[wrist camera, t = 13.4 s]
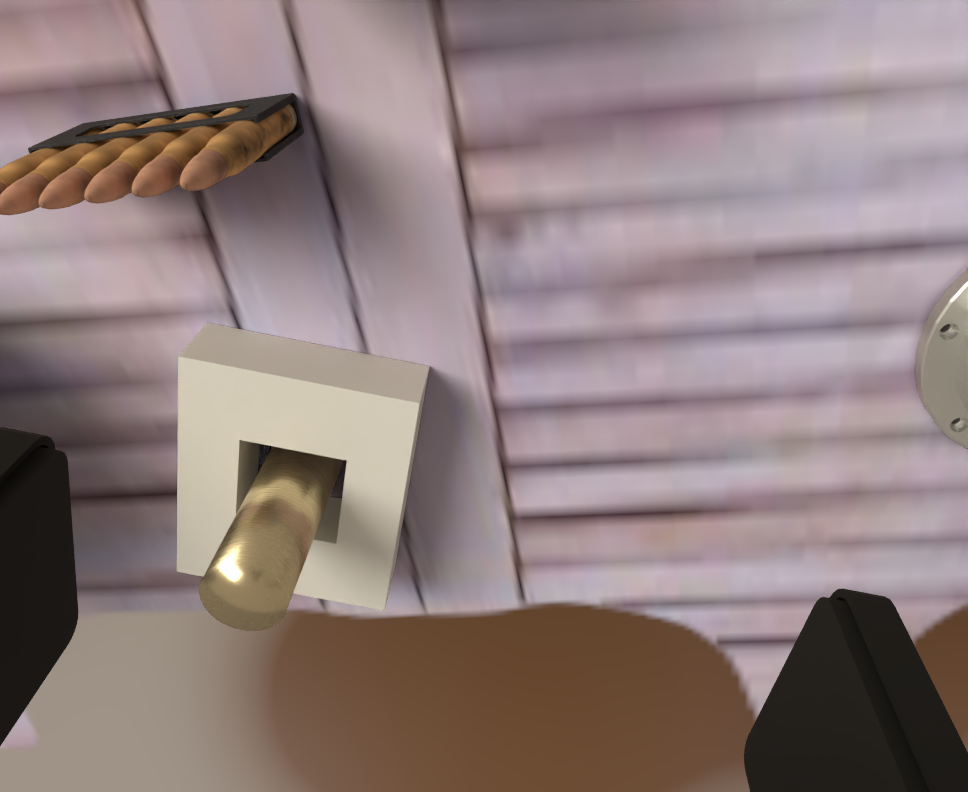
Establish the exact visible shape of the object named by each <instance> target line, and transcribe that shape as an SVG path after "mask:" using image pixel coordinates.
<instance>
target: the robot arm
mask: <svg viewBox="0 0 968 792" xmlns="http://www.w3.org/2000/svg"><path fill="white" fill-rule="evenodd" d="M943 326H945V327H943ZM942 327H943V328H942ZM915 377H916V384H917V390H918V393H919V395H920V398H921V400H922V403H923V405H924V407H925V409H926V410H927V411H928V413H929V414H930V416H931V417H932V419H933V420H934V422H935V423H936V424H937V425H938V426H939V428H940V429H941V430H942V431H943V432H944V433H945V434H946V435H947V436H948V437H949V438H951V439H952V440H954V441H955V442H957V443H958V444H960V445H961V446H963V447H964V448H966V449H968V269H967V270H966V271H965V272H964V273H963V274H962V275H961V276H960V277H959V278H958V279H957V280H955V281H954V282H953V283H952V284H951V286H950V287H949V288H948V289H947V291H946V292H945V293H944V294H943V296H942V297H941V298H940V299H939V301H938V302H937V303H936V305H935V306H934V308H933V310H932V312H931V314H930V316H929V317H928V319H927V321H926V323H925V325H924V327H923V330H922V333H921V336H920V339H919V342H918V345H917V349H916V359H915ZM77 620H78V601H77V587H76V573H75V559H74V545H73V531H72V516H71V502H70V488H69V474H68V461H67V456H66V455H65V453H64V452H62V451H58V450H55V445H54V442H53V441H52V439H51V438H50V437H48V436H44V435H39V434H34V433H28V432H23V431H18V430H13V429H8V428H0V746H1V744H2V743H3V741H4V740H5V738H6V737H7V735H8V734H9V732H10V731H11V729H12V728H13V726H14V725H15V723H16V722H17V720H18V719H19V717H20V716H21V714H22V713H23V711H24V710H25V708H26V707H27V705H28V704H29V702H30V701H31V699H32V698H33V696H34V695H35V693H36V692H37V690H38V689H39V687H40V686H41V684H42V683H43V681H44V680H45V678H46V677H47V675H48V674H49V672H50V671H51V669H52V668H53V666H54V665H55V663H56V662H57V660H58V659H59V657H60V656H61V654H62V653H63V651H64V650H65V648H66V647H67V645H68V644H69V642H70V640H71V638H72V636H73V634H74V631H75V628H76V625H77ZM744 764H745V770H746V775H747V779H748V783H749V788H750V792H968V752H967V751H966V748H965V746H964V744H963V742H962V740H961V738H960V736H959V734H958V732H957V730H956V728H955V726H954V724H953V722H952V720H951V718H950V716H949V715H948V712H947V710H946V708H945V706H944V704H943V702H942V700H941V698H940V696H939V694H938V692H937V690H936V688H935V686H934V684H933V682H932V680H931V678H930V676H929V674H928V672H927V670H926V668H925V666H924V664H923V662H922V660H921V658H920V656H919V654H918V652H917V650H916V648H915V646H914V644H913V642H912V640H911V638H910V636H909V634H908V632H907V630H906V628H905V626H904V624H903V622H902V620H901V618H900V616H899V614H898V612H897V610H896V608H895V606H894V604H893V603H892V602H891V600H890V599H888V598H886V597H884V596H878V595H873V594H868V593H863V592H858V591H852V590H847V589H838V590H836V591H835V592H834V593H833V594H832V595H831V597H830V598H826V597H822V598H820V599H819V600H818V601H817V602H816V604H815V605H814V607H813V609H812V611H811V613H810V615H809V617H808V619H807V621H806V623H805V625H804V627H803V629H802V631H801V633H800V635H799V637H798V639H797V641H796V643H795V645H794V647H793V649H792V650H791V652H790V654H789V656H788V658H787V660H786V662H785V664H784V666H783V668H782V670H781V672H780V674H779V676H778V678H777V680H776V682H775V684H774V686H773V688H772V690H771V692H770V694H769V696H768V698H767V700H766V702H765V704H764V706H763V708H762V710H761V712H760V714H759V716H758V718H757V720H756V722H755V724H754V726H753V728H752V729H751V732H750V733H749V735H748V738H747V741H746V745H745V753H744Z"/></svg>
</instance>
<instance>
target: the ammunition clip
mask: <svg viewBox="0 0 968 792" xmlns="http://www.w3.org/2000/svg"><path fill="white" fill-rule="evenodd" d="M303 133H304V131H303V127H302V123H301V119H300V114H299V110H298V106H297V102H296V98H295V95H294V94H293V93H290V94H283V95H276V96H269V97H262V98H255V99H248V100H241V101H235V102H228V103H221V104H214V105H207V106H200V107H193V108H186V109H179V110H172V111H165V112H158V113H151V114H144V115H138V116H131V117H124V118H117V119H110V120H103V121H96V122H89V123H83V124H81V125H78V126H76V127H74V128H72V129H70V130H67V131H65V132H63V133H61V134H58V135H56V136H54V137H52V138H50V139H47V140H45V141H43V142H41V143H38V144H36V145H34V146H32V147H30V148H28V150H29V153H30V154H28V155H26V156H24V157H22V158H19V159H17V160H15V161H13V162H11V163H9V164H7V165H6V166H4V167H2V168H1V169H0V214H2V215H14V214H20V213H25V212H28V211H31V210H34V209H37V208H39V207H42V208H46V209H59V208H65V207H70V206H72V205H75V204H78V203H80V202H82V201H84V200H86V201H88V202H91V203H105V202H111V201H114V200H117V199H119V198H122V197H124V196H125V195H127V194H129V193H133V194H134V195H136V196H139V197H151V196H156V195H160V194H162V193H165V192H167V191H169V190H170V189H172V188H174V187H176V186H178V185H180V186H181V187H182V188H183V189H184V190H188V191H197V190H203V189H206V188H208V187H210V186H212V185H214V184H216V183H217V182H219V181H221V180H223V179H225V178H226V177H229V176H234V175H236V174H238V173H240V172H241V171H243V170H244V169H245V168H247V167H248V166H249V165H250V164H252V163H254V162H262V161H267V160H269V159H270V158H272V157H273V156H274V155H276V154H277V153H278V152H279V151H281V150H282V149H283V148H285V147H286V146H287V145H289V144H290V143H291V142H293V141H294V140H295V139H297V138H298V137H299V136H301V135H302V134H303Z"/></svg>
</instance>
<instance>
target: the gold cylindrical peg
mask: <svg viewBox="0 0 968 792" xmlns="http://www.w3.org/2000/svg"><path fill="white" fill-rule="evenodd" d="M342 464H343V460H341V459H336V458H331V457H326V456H320V455H315V454H310V453H305V452H300V451H295V450H289V449H284V448H279V447H274V446H272V448H271V450H270V452H269V454H268V456H267V458H266V459H265V461H264V463H263V465H262V467H261V469H260V471H259V473H258V475H257V476H256V478H255V480H254V482H253V484H252V486H251V488H250V490H249V492H248V493H247V495H246V497H245V499H244V501H243V503H242V505H241V507H240V509H239V510H238V512H237V514H236V516H235V518H234V520H233V522H232V524H231V526H230V527H229V529H228V531H227V533H226V535H225V537H224V539H223V541H222V542H221V544H220V546H219V548H218V550H217V552H216V554H215V556H214V558H213V559H212V561H211V563H210V565H209V567H208V569H207V571H206V573H205V575H204V576H203V578H202V580H201V583H200V587H199V594H200V598H201V601H202V603H203V605H204V607H205V608H206V609H207V611H208V612H209V613H210V614H211V615H212V616H213V617H215V618H216V619H217V620H219V621H220V622H222V623H223V624H226V625H228V626H230V627H233V628H236V629H240V630H246V631H257V630H264V629H267V628H269V627H272V626H274V625H276V624H277V623H278V622H279V621H280V620H281V619H282V618H283V617H284V615H285V613H286V610H287V608H288V605H289V602H290V600H291V597H292V594H293V592H294V589H295V587H296V584H297V581H298V579H299V576H300V574H301V571H302V568H303V566H304V563H305V561H306V558H307V555H308V553H309V550H310V548H311V545H312V542H313V540H314V537H315V535H316V532H317V529H318V527H319V524H320V522H321V519H322V516H323V514H324V511H325V509H326V506H327V503H328V501H329V498H330V495H331V493H332V490H333V488H334V485H335V482H336V480H337V477H338V475H339V472H340V469H341V467H342Z"/></svg>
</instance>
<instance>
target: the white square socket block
mask: <svg viewBox="0 0 968 792" xmlns="http://www.w3.org/2000/svg"><path fill="white" fill-rule="evenodd" d="M429 368H430V366H425V365H420V364H415V363H410V362H405V361H399V360H394V359H389V358H384V357H379V356H374V355H369V354H364V353H359V352H354V351H349V350H344V349H338V348H333V347H328V346H323V345H318V344H313V343H308V342H303V341H298V340H293V339H288V338H283V337H277V336H272V335H267V334H262V333H257V332H252V331H247V330H242V329H237V328H232V327H227V326H221V325H216V324H211V323H206V325H205V326H204V327H203V328H202V329H201V330H200V332H199V333H198V334H197V335H196V336H195V337H194V339H193V340H192V341H191V342H190V343H189V344H188V346H187V347H186V348H185V349H184V350H183V351H182V353H181V354H180V355H179V356H178V472H177V572H182V573H187V574H192V575H198V576H204V575H205V573H206V571H207V569H208V567H209V565H210V563H211V561H212V559H213V558H214V556H215V554H216V552H217V550H218V548H219V546H220V544H221V542H222V541H223V539H224V537H225V535H226V533H227V531H228V529H229V527H230V526H231V524H232V522H233V520H234V518H235V516H236V514H237V512H238V510H239V509H240V507H241V505H242V503H243V501H244V499H245V497H246V495H247V493H248V492H249V490H250V488H251V486H252V484H253V482H254V480H255V478H256V476H257V475H258V464H259V449H260V444H263V445H269V446H274V447H279V448H284V449H289V450H295V451H300V452H305V453H310V454H315V455H320V456H326V457H331V458H336V459H341V460H346V461H347V463H346V471H345V479H344V487H343V495H342V499H340V498H335V497H330V498H329V501H328V503H327V506H326V509H325V511H324V514H323V516H322V519H321V522H320V524H319V527H318V529H317V532H316V535H315V537H314V540H313V542H312V545H311V548H310V550H309V553H308V555H307V558H306V561H305V563H304V566H303V568H302V571H301V574H300V576H299V579H298V581H297V584H296V587H295V589H294V592H293V594H299V595H304V596H309V597H315V598H320V599H325V600H331V601H336V602H341V603H347V604H352V605H357V606H362V607H368V608H373V609H378V610H385V606H386V602H387V597H388V593H389V589H390V585H391V581H392V577H393V573H394V569H395V565H396V559H397V553H398V547H399V541H400V536H401V530H402V524H403V518H404V512H405V507H406V501H407V495H408V489H409V484H410V478H411V472H412V466H413V460H414V455H415V449H416V443H417V437H418V431H419V426H420V420H421V414H422V408H423V403H424V397H425V391H426V385H427V379H428V374H429Z"/></svg>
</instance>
